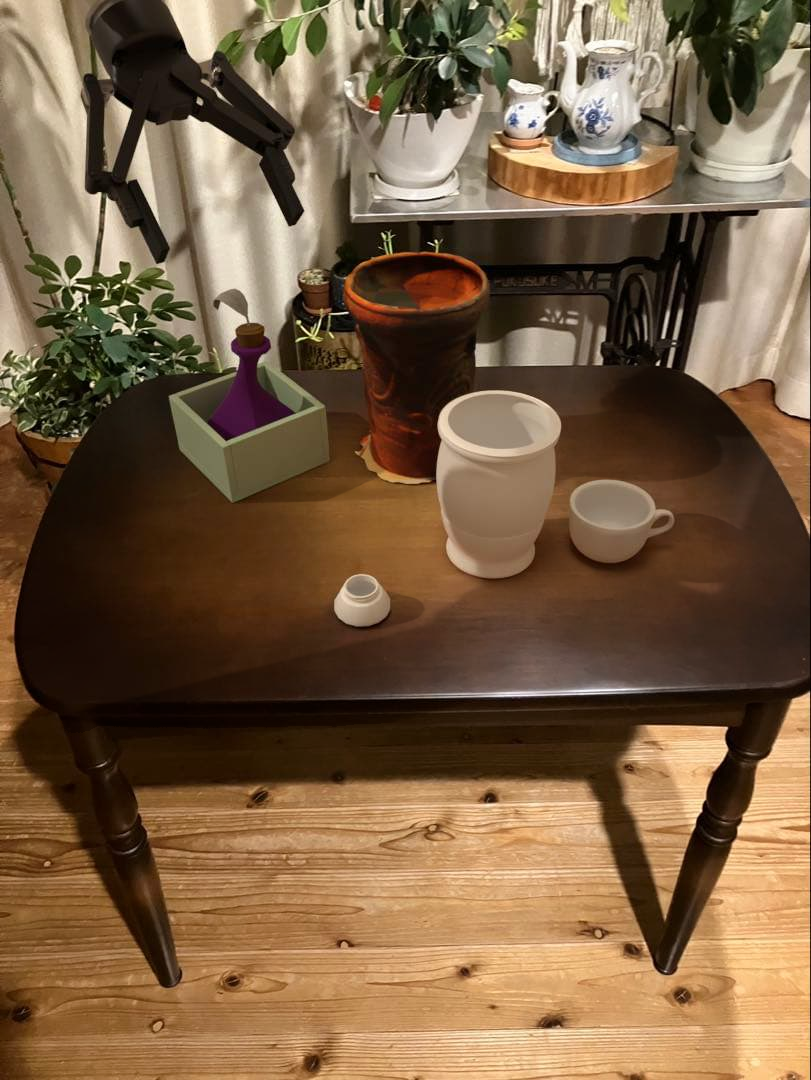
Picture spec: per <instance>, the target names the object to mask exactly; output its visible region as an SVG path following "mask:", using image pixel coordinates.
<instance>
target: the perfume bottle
mask: <svg viewBox="0 0 811 1080" xmlns="http://www.w3.org/2000/svg"><path fill="white" fill-rule="evenodd" d="M221 303H223V304H225V305H226V306H228V307H229V308H231V309H232V310H233V311H235V312H236V313H238V314H239V315H241V316H243V317H244V318H245V320H246V322H245V323H243V324H239V325H238V326H237V327H236V328H235V329H234V333H235V336H236V337H234V338H233V339H232V340H231V342H230V348H231V349H230V350H231V352H232V353H233V354H234V355H236V356H238V358H239V359H238V360H239V361H238V365H237V369H236V370H237V371H236V372H237V373H236V376H235V380H234V382H233V384H232V386H231V388H230V390H229V392H228V394H227V395H226V397H225V398H224V400H223V401H222V403H221V405H220V406H219V407H218V409H217V410H216V411H215V413H214V414H213V415H212V416H211V418H210V419H209V420H208V422H207V424H208V425H209V426H210V427H211V428H212V429H213V430H214V431H215V432H217V433H218V434H219V435H220V436H221V437H222V438H223V439H224V440H225V441H226V442H227V441H228V440H230V439H233V438H236V437H238V436H241V435H243V434H246V433H248V432H251V431H253V430H256V429H258V428H261V427H263V426H266V425H268V424H271V423H273V422H276V421H278V420H281V419H283V418H286V417H288V416H291V415H293V414H296V413H295V412H294V411H293V410H291V409H290V408H289V407H287V406H286V405H284V404H283V403H282V402H280V401H279V400H277V399H276V398H275V397H273V396H272V395H271V394H270V393H268V392H267V391H266V390H265V389H263V388H262V387H261V385H260V383H259V382H258V378H257V364H259V361H260V360H261V358H262V356H263V355H266V354H268V352H269V351H270V350H271V349H272V344H271V340H270V338H268V337H267V336H265V330H266V328H265V326H264V325H263V324H261V323H258V322H250V319H249V302H248V300H247V298H246V295H245V294H244V293H243V292H242V290H239V289H237V288H230V289H227V290H224V291H223V292H221V293H219V294H218V295H217V296H216V297H215V298H214V299H213V303H212V306H213V308H214V309H215V310H217V311H219V308H220V305H221Z"/></svg>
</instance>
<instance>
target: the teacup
mask: <svg viewBox="0 0 811 1080" xmlns="http://www.w3.org/2000/svg"><path fill="white" fill-rule="evenodd" d="M568 509H569V510H568V529H569V534H570V538H571V540H572V543H573V545H574V546H575V548H576V549H577V550H578V551H579V552H580V553H581V554H582V555H584V557H587V558H588V559H590V560H592V561H595V562H598V563H604V564H616V563H622V562H625V561H627V560H629V559H630V558H632V557H635V555H637V553H639V551H640V550H641V549H642V548H643V547H644V545H645V544H646V542H647V539H649V538H652V537H654V536H657V535H661V534H663V533H665V532H667V531H669V530H671V528H672V527H673V526H674V523H675V516H674V513H672V512H671V511H670V510H668V509H663V508H660V509H656V504H655V501H654V499H653V497H652V496H651V495H650V494H649V493H648V492H647V491H645V490H644V489H642V488H641V487H639V486H637V485H635V484H633V483H630V482H627V481H622V480H617V479H596V480H592V481H588V482H586V483H583V484H580V485H579V486H577V487H576V488H575V489H574V490H573V491H572V493H571V494H570V497H569V507H568ZM664 516H666V517H668V518H669V519H668V522H667V523H666V524H664V525H663V526H661V527H656V528H652V526H653V525H654V523H655V522H656V521H657V520H658V519H660V518H661V517H664Z"/></svg>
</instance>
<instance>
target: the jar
mask: <svg viewBox="0 0 811 1080" xmlns="http://www.w3.org/2000/svg"><path fill="white" fill-rule="evenodd" d="M561 430H562V422H561V418H560V416H559V415H558V413H557V412H556V410H555V409H553V407H551V406H550V405H549V404H547V403H546V402H544V401H543V400H541V399H538V398H536V397H534V396H531V395H528V394H526V393H522V392H516V391H510V390H496V389H495V390H492V389H491V390H482V391H473V393H470V394H467V395H464V396H461V397H459V398H456V399H455V400H453V401H451V402H450V403H448V404H447V405H446V406H445V407H444V408H443V409H442V411H441V413H440V415H439V419H438V432H439V435H440V437H441V439H442V441H441V444H440V448H439V453H438V460H437V471H436V479H435V480H436V491H437V497H438V501H439V505H440V513H441V521H442V523H443V527H444V529H445V532H446V534H447V536H448V537H447V540H446V542H445V543H446V544H445V545H446V546H445V549H446V554H447V556H448V558H449V560H450V561H451V563H452V564H453V565H454V566H455V567H457V569H459V570H461V571H462V572H464V573H466V574H469V575H470V576H474V577H477V578H484V579H504V578H509V577H512V576H515V575H517V574H520V573H522V572H523V571H525V569H527V568H528V567H529V566H530V565H531V564H532V563H533V560H534V558H535V555H536V546H535V544H534V543H535V542H536V541H537V538H538V537H539V535H540V533H541V530H543V529H542V528H543V526H544V523H545V519H546V516H547V512H548V510H549V507H550V504H551V501H552V497H553V494H554V488H555V483H556V452H555V451H556V450H555V446H556V445H557V443H558V442H559V440H560V436H561Z"/></svg>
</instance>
